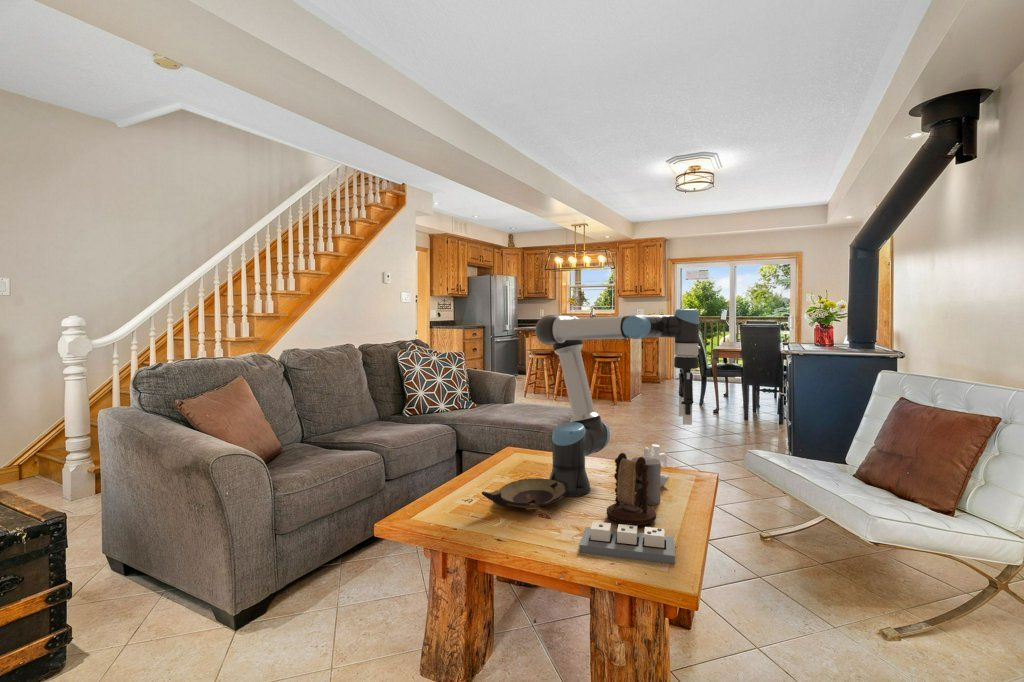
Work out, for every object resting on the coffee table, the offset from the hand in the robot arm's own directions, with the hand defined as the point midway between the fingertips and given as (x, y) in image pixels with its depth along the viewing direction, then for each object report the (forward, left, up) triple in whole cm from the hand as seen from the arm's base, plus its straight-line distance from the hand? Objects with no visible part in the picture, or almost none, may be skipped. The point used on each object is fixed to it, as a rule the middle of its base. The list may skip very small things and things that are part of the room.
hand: (685, 420), depth 167 cm
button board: (-16, -38, -28) cm, 50 cm away
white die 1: (-23, -38, -26) cm, 52 cm away
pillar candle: (-12, 0, -28) cm, 31 cm away
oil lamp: (-51, -14, -28) cm, 60 cm away
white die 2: (-16, -38, -26) cm, 49 cm away
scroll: (-16, -18, -28) cm, 37 cm away
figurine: (-9, +17, -28) cm, 34 cm away
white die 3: (-9, -38, -26) cm, 47 cm away
